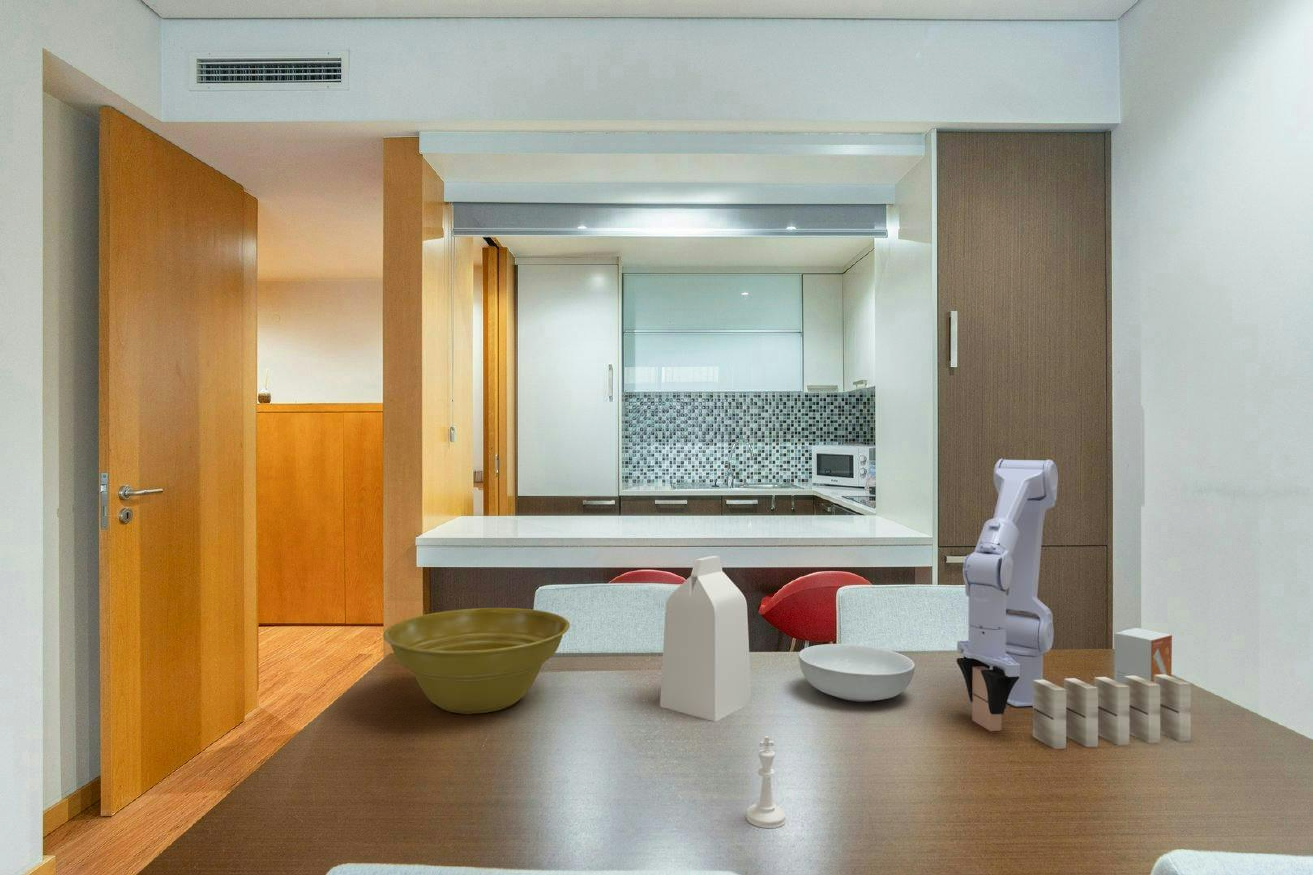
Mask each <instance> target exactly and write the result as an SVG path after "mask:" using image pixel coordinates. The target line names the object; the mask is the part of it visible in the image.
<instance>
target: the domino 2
mask: <svg viewBox="0 0 1313 875" xmlns="http://www.w3.org/2000/svg"><path fill="white" fill-rule="evenodd" d="M1063 688H1064V689H1066V738H1069V739H1071V740H1072V741H1075V742H1076V743H1078V744H1080V745H1082V746H1084V747H1085V748H1093V747H1095V748H1096V747H1099V744H1098V743H1099V735H1098V688H1097V687H1094V685H1092V684H1090V683H1087V682H1085V681H1082V680H1080V679H1077V678H1076V677H1075V678H1070V677H1069V678H1063Z"/></svg>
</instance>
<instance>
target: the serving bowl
mask: <svg viewBox="0 0 1313 875" xmlns="http://www.w3.org/2000/svg"><path fill="white" fill-rule="evenodd" d="M798 660H799V661H798V662H799V666H800V670H801V673H802V675H803V676H804V678H805V680H806V681H807V682H808V684H809V683H810V685H811V686H812V687H814V688H815V689H817V690H818V691H820V692H822V693H825V694H826V695H829V696H832V697H836V698H838V699H840V700H845V701H848V702H849V701H850V702H858V703H863V702H865V703H869V702H874V701H881V700H886V699H891V698H894V697H896V696H898V695H900V694H901V693H903V692H904V691H905V690H906V689H907V688H908V687H909V685H911V684H910V683H911V681H913V676H914V674H915V668H916V665H915V662H914V660H912V659H910V657H907V655H904V654H901V653H899V652H895V651H893V650H889V649H885V648H879V647H875V646H869V645H863V644H861V645H859V644H848V643H826V644H817V645H812V646H808V647H806V648H803V649H801V650H800V651H799V653H798Z"/></svg>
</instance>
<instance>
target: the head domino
mask: <svg viewBox="0 0 1313 875" xmlns="http://www.w3.org/2000/svg"><path fill="white" fill-rule="evenodd" d="M981 670H990V669H988V668H986V667H984V666H978V667H973V681H972V696H973V703H972V702H971V704H972V706H971V707H972V708H971V710H972V711H971V712H972V713H971V714H972V715H971V716H972V719H971V720H972V721H973V722H974V723H976V724H978V725H979V726H981V727H982V728H984V729H986V730H988V731H989V732H1000V731H1002V714H991V713H990V711H989V706H988V694H987V688H986V684H985V681H984V678H983V676H982V674H981Z"/></svg>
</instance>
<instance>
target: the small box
mask: <svg viewBox="0 0 1313 875" xmlns="http://www.w3.org/2000/svg"><path fill="white" fill-rule="evenodd" d="M1113 643H1114V644H1113V645H1114V647H1113V648H1114V649H1113V651H1114V652H1113V654H1114V655H1113V657H1114V658H1113V669H1114V670H1113V672H1114V673H1113V676H1114V678H1113V680H1114V681H1117V682H1119V683H1122V684H1124V676H1137V677H1140V678H1143V679H1145V680H1148V681H1151V682H1153V683H1154V675H1160V674H1165V675H1168V676H1171V677H1172V671H1173V670H1172V668H1173V667H1172V662H1173V661H1172V659H1173V658H1172V655H1173V654H1172V652H1173V651H1172V649H1173V648H1172V647H1173V645H1172V644H1173V635H1172V634H1170V633H1165V632H1159V631H1155V630H1150V629H1145V628H1140V627H1133V628H1130V629H1124V630H1122V631H1118V632H1115V633H1114V642H1113Z"/></svg>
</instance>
